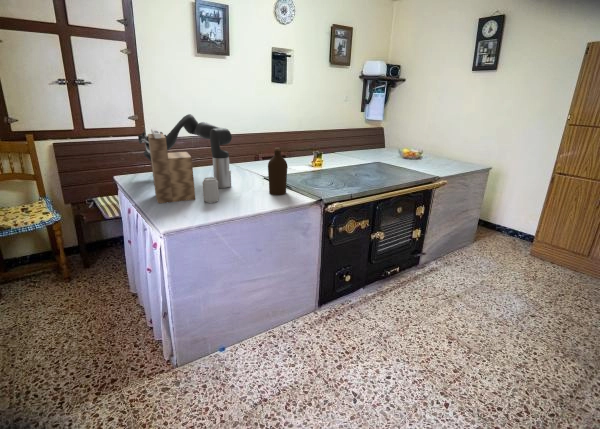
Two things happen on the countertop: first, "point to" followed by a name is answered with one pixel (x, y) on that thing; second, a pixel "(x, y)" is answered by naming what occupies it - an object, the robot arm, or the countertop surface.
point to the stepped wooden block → (171, 172)
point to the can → (210, 190)
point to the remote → (155, 133)
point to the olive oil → (277, 174)
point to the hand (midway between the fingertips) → (152, 133)
